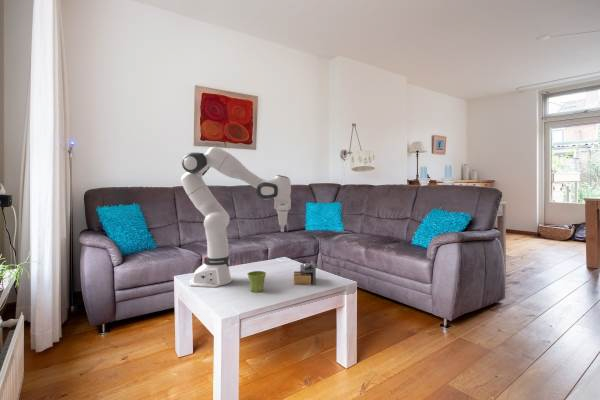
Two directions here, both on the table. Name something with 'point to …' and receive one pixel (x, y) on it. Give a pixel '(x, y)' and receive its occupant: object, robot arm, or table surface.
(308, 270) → the bracket
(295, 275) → the block
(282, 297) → the table surface
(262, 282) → the plant pot
